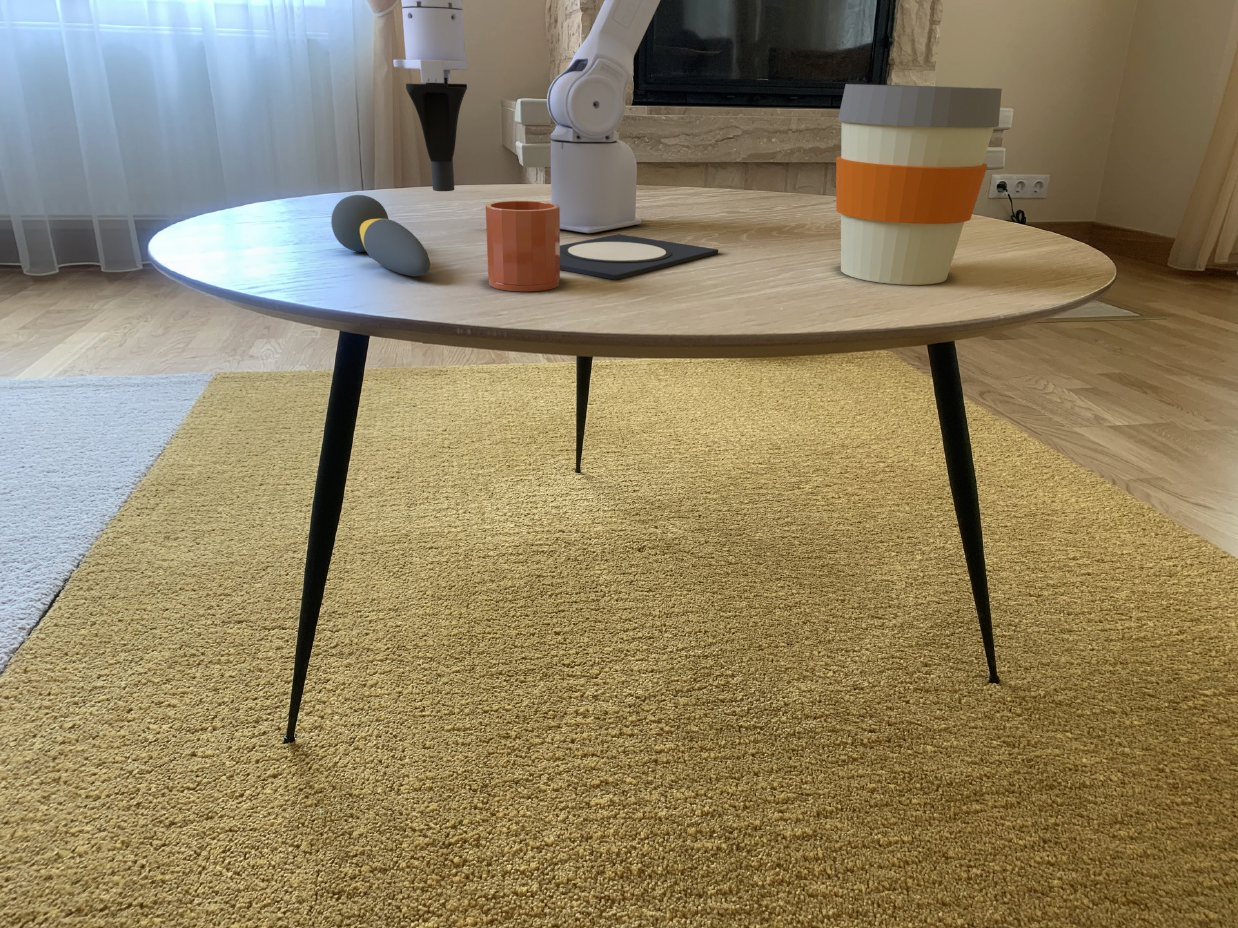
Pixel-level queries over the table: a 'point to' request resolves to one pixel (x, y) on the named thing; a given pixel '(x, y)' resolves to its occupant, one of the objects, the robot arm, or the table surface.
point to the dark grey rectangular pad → (626, 255)
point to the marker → (442, 176)
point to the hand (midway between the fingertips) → (441, 160)
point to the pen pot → (523, 245)
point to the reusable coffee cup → (909, 176)
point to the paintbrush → (378, 236)
